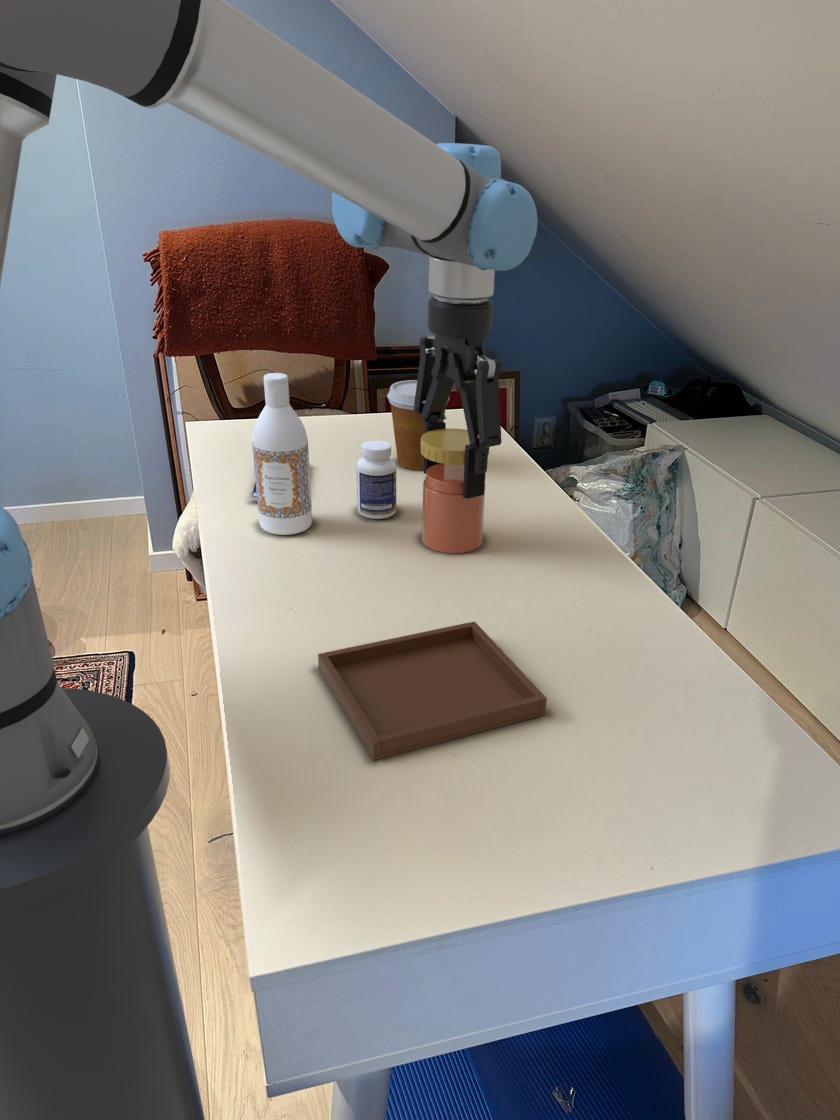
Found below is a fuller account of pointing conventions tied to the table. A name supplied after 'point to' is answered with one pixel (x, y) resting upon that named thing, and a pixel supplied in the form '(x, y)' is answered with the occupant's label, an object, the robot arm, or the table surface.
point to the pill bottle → (376, 481)
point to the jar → (450, 511)
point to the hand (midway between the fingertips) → (453, 483)
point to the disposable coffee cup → (407, 424)
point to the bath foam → (281, 462)
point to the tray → (428, 688)
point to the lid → (445, 445)
